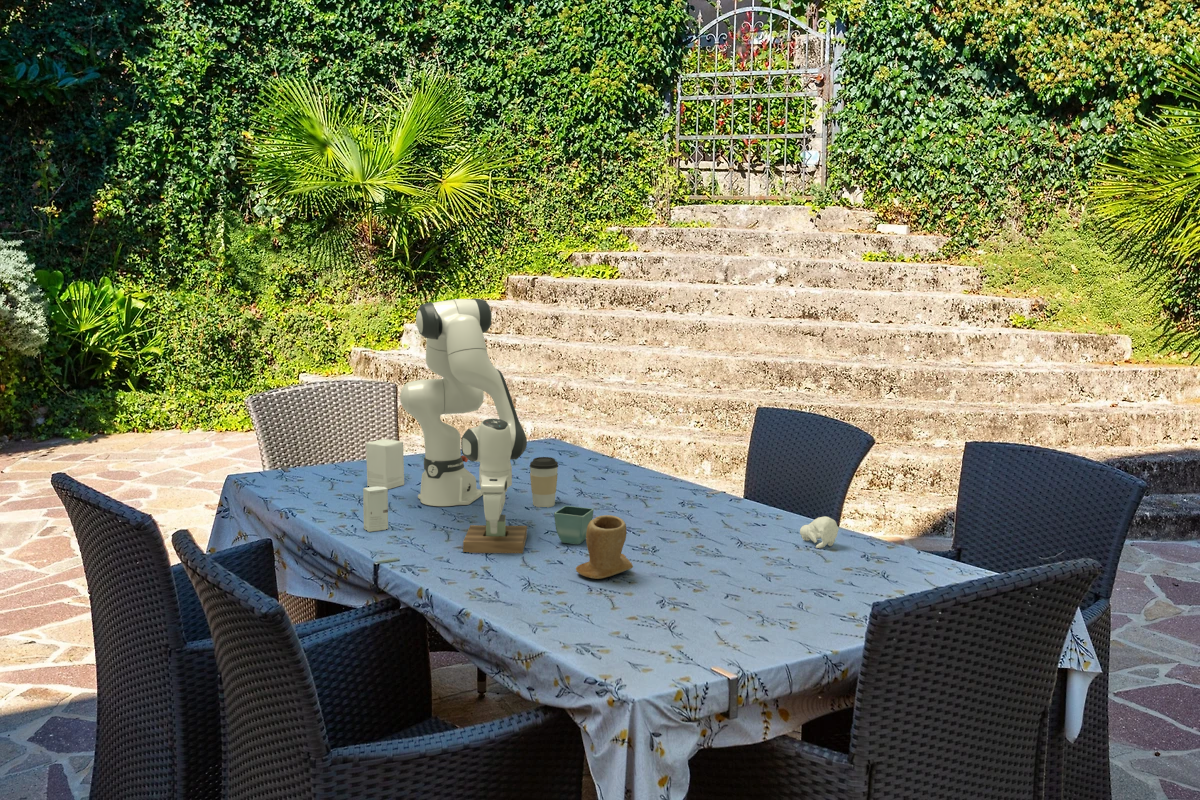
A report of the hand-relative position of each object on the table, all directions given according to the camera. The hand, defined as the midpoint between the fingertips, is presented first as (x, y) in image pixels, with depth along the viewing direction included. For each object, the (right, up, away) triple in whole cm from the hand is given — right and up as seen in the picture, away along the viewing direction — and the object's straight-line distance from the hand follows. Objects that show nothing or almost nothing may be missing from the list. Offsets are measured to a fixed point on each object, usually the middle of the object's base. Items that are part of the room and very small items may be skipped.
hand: (495, 528), depth 299 cm
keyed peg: (0, -5, +1) cm, 5 cm away
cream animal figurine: (+89, -5, +4) cm, 89 cm away
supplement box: (-43, +6, +64) cm, 77 cm away
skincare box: (-36, -2, +14) cm, 38 cm away
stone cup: (+31, -9, -23) cm, 39 cm away
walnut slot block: (0, -5, +1) cm, 5 cm away
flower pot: (+21, -5, +4) cm, 22 cm away
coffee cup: (+11, +2, +43) cm, 44 cm away
